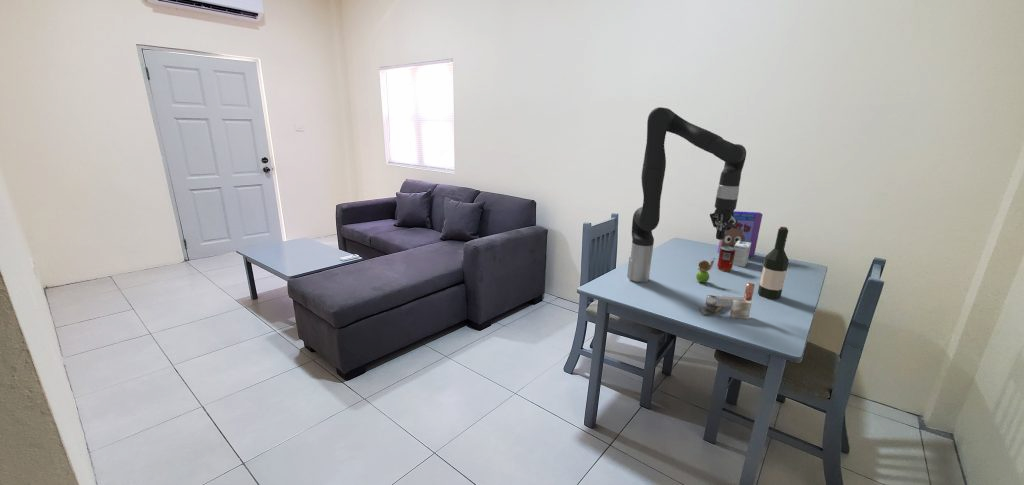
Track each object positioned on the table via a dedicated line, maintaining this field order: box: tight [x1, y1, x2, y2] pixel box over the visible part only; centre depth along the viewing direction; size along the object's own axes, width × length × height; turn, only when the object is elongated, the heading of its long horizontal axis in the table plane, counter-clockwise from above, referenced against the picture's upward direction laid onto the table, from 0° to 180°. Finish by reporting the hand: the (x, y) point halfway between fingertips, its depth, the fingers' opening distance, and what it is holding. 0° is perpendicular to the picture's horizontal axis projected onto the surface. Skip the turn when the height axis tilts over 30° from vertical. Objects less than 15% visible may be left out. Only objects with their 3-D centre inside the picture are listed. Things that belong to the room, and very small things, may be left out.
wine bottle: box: [757, 226, 790, 301], centre depth 170 cm, size 8×8×30 cm
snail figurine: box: [695, 257, 715, 283], centre depth 186 cm, size 5×6×12 cm
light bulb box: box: [733, 241, 751, 268], centre depth 212 cm, size 11×7×11 cm, turn 144°
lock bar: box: [705, 282, 756, 308], centre depth 155 cm, size 16×4×9 cm, turn 84°
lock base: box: [698, 295, 753, 319], centre depth 160 cm, size 16×15×6 cm
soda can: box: [717, 246, 735, 272], centre depth 203 cm, size 7×7×12 cm
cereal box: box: [717, 210, 763, 258], centre depth 225 cm, size 17×5×24 cm, turn 80°
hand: (719, 239), depth 165 cm, fingers closed
